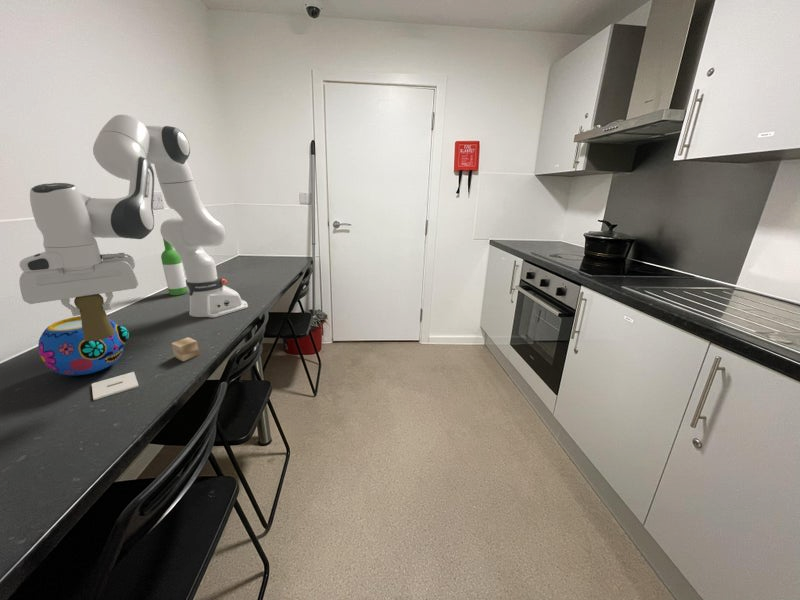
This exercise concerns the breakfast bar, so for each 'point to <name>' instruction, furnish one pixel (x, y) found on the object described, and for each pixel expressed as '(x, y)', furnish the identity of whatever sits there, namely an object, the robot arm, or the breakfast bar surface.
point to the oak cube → (185, 349)
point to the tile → (114, 385)
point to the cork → (94, 318)
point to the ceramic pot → (79, 348)
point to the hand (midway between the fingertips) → (92, 312)
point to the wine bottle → (173, 270)
